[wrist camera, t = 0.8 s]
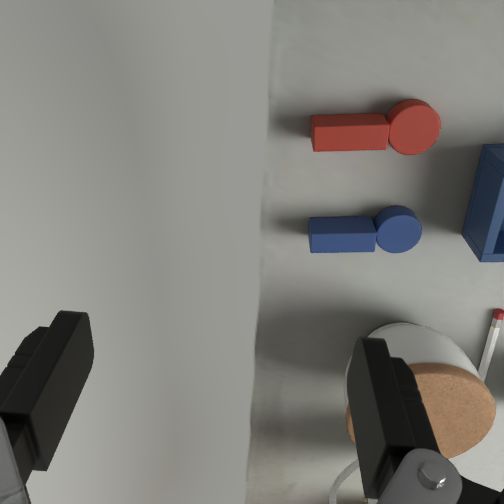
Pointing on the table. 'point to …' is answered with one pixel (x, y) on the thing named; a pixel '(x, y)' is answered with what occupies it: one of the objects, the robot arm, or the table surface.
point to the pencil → (490, 343)
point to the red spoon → (378, 130)
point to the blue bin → (487, 207)
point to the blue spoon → (365, 232)
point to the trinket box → (440, 386)
